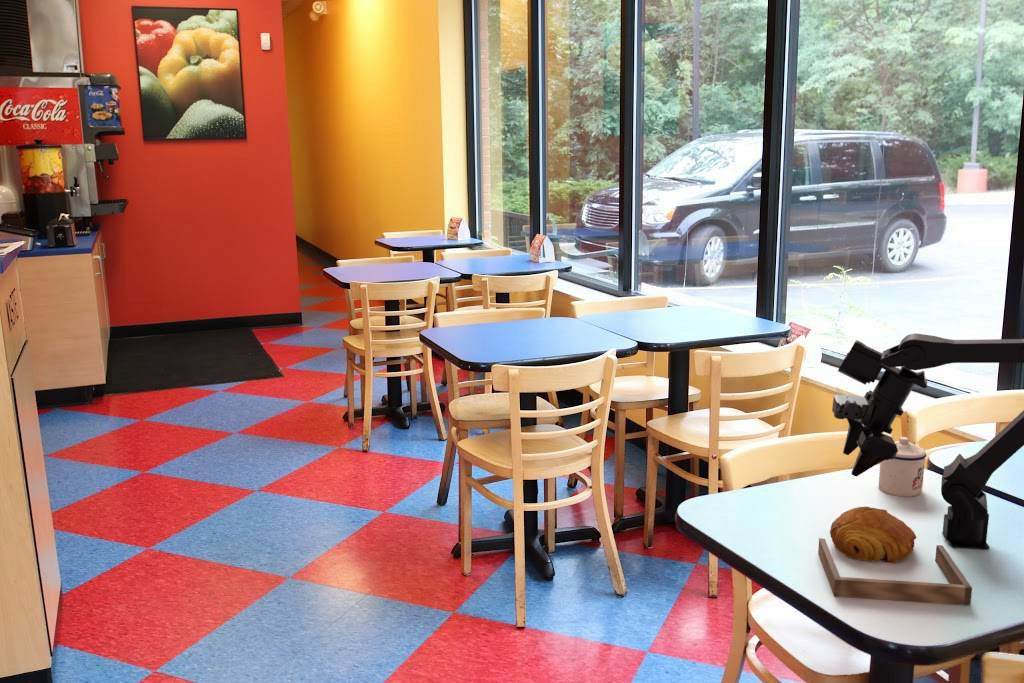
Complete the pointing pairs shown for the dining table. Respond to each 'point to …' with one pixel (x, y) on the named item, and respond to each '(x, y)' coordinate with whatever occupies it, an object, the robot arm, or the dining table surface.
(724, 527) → the dining table surface
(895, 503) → the dining table surface
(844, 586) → the walnut u-shaped frame
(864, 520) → the croissant
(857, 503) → the dining table surface
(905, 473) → the teacup with lid
